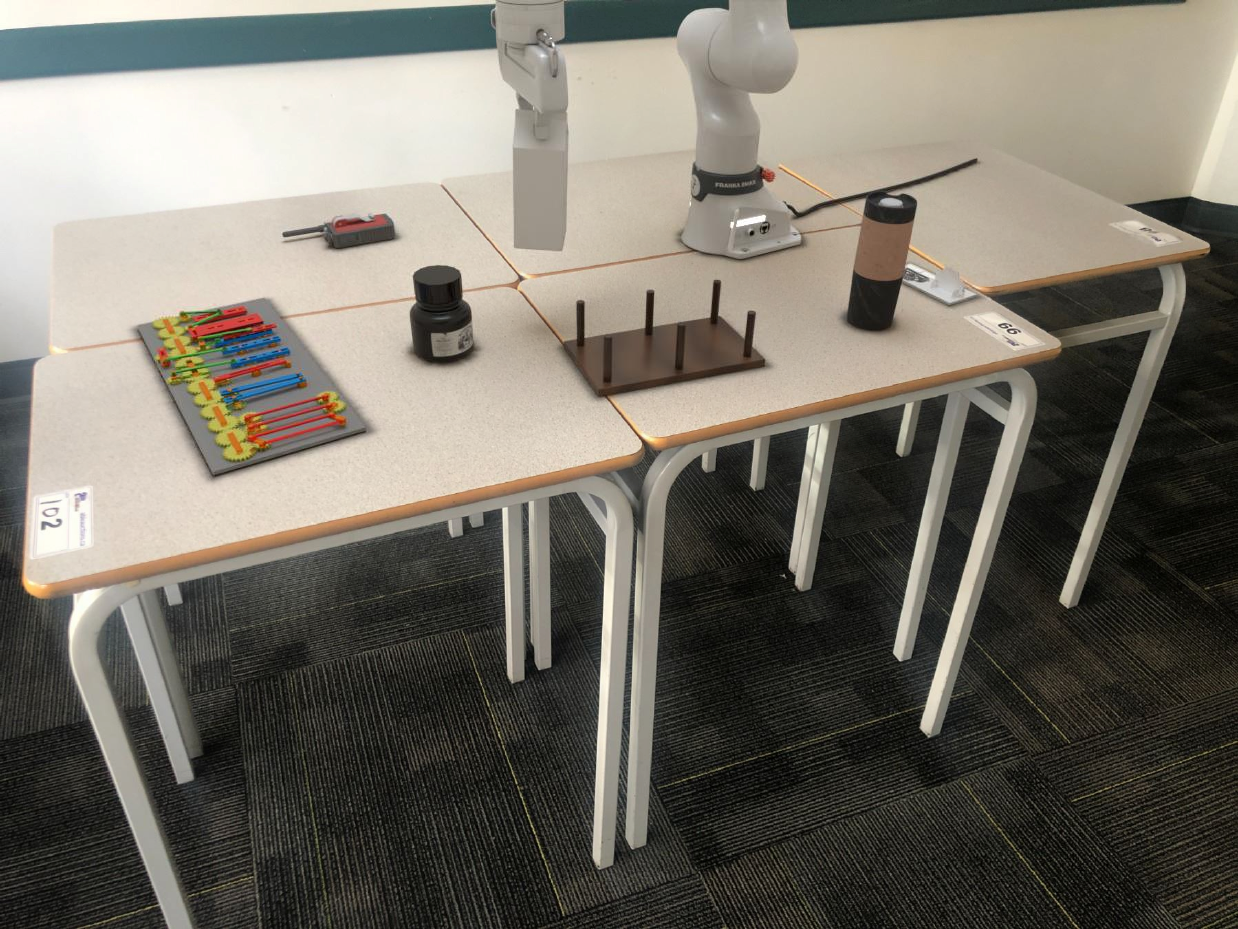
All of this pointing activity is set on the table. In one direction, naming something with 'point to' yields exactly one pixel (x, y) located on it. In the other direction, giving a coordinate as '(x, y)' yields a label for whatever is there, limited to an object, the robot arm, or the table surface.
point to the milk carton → (540, 183)
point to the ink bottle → (440, 315)
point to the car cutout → (937, 284)
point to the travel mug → (880, 259)
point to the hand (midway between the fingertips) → (534, 130)
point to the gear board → (246, 384)
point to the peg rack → (662, 350)
